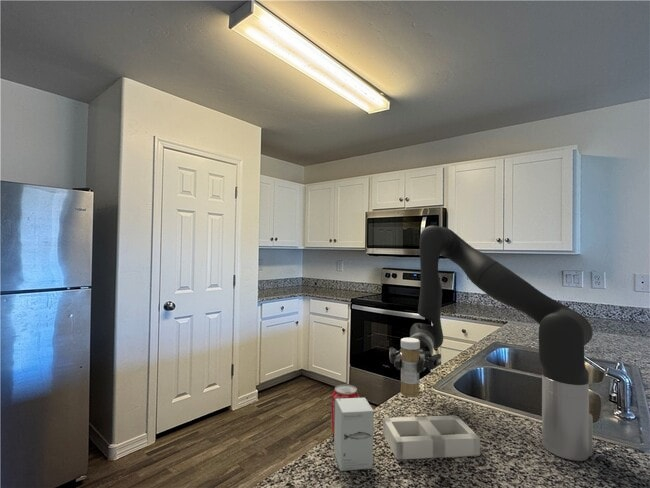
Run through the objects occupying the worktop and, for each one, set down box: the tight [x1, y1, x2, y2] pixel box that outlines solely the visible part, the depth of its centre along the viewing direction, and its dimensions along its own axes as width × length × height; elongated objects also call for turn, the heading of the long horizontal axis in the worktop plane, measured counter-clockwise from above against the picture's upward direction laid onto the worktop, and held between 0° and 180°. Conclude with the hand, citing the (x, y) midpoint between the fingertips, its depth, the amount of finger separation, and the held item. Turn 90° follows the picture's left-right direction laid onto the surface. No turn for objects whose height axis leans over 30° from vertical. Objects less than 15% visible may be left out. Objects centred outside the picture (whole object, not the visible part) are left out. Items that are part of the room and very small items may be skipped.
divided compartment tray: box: [382, 414, 481, 460], centre depth 83 cm, size 20×11×4 cm, turn 96°
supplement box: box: [333, 396, 375, 472], centre depth 76 cm, size 7×7×13 cm
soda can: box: [330, 383, 360, 436], centre depth 86 cm, size 7×7×12 cm
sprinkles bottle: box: [400, 337, 420, 398], centre depth 83 cm, size 5×5×13 cm
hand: (408, 367), depth 81 cm, fingers closed on sprinkles bottle, 4 cm apart
